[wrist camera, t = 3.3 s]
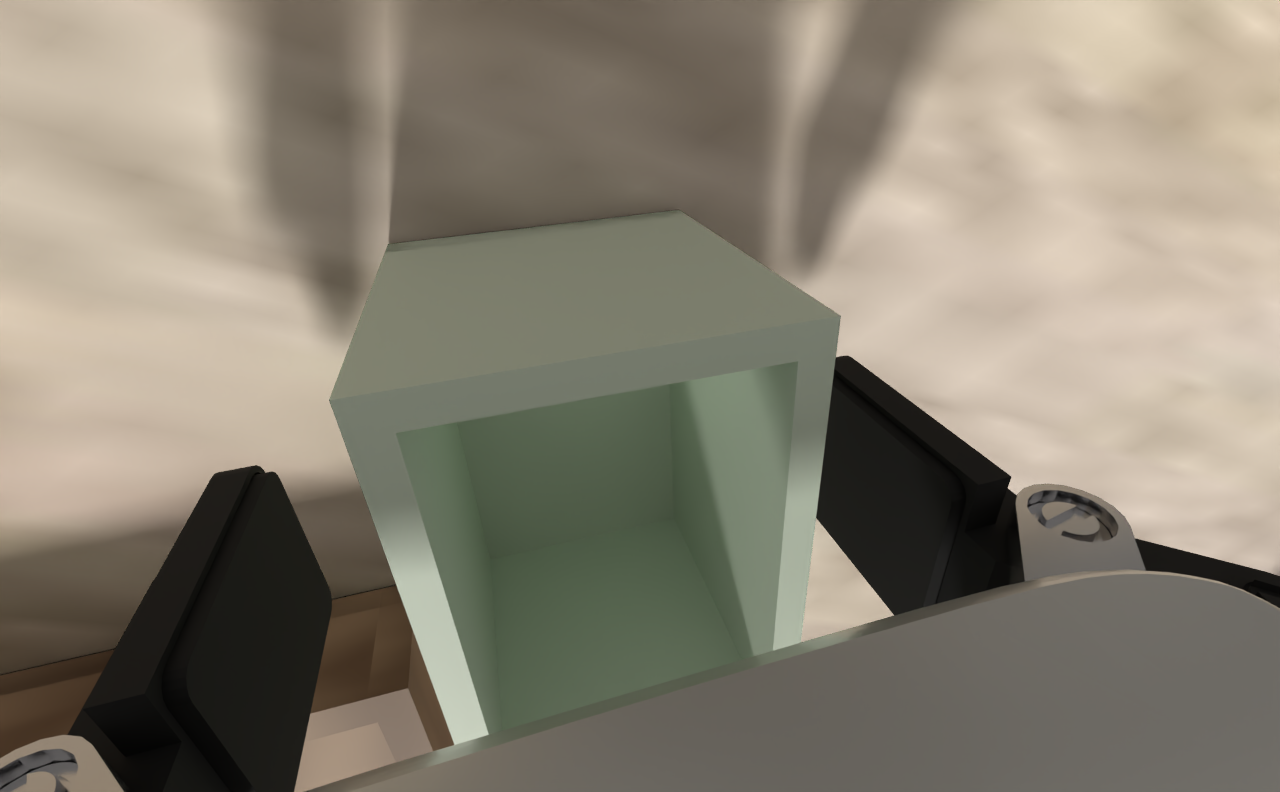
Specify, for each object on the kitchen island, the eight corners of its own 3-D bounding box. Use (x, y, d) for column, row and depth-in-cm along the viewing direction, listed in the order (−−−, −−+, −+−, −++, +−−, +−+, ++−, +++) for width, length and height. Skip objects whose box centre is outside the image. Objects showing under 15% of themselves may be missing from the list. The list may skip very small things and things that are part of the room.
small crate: (679, 209, 12) (840, 315, 7) (685, 513, 16) (791, 721, 11) (388, 243, 11) (329, 400, 6) (472, 562, 15) (480, 817, 10)
